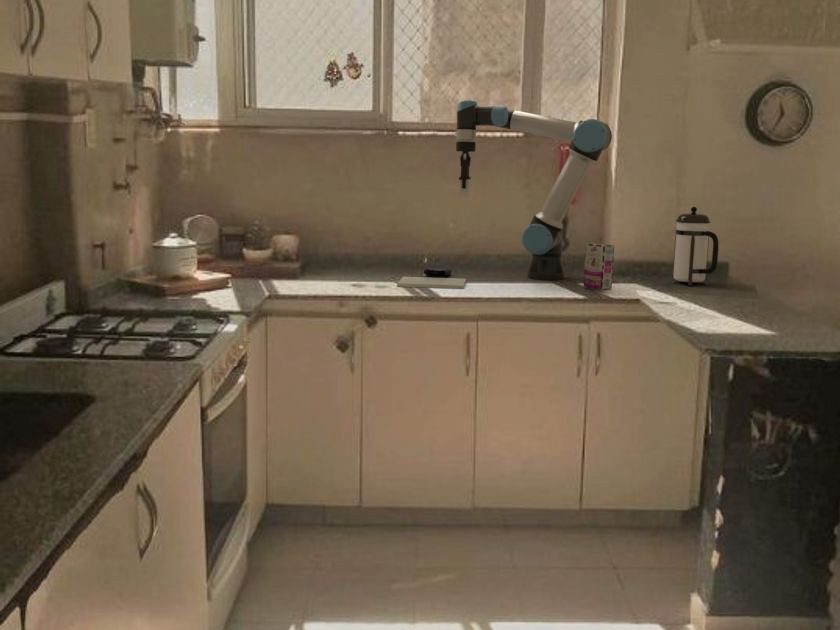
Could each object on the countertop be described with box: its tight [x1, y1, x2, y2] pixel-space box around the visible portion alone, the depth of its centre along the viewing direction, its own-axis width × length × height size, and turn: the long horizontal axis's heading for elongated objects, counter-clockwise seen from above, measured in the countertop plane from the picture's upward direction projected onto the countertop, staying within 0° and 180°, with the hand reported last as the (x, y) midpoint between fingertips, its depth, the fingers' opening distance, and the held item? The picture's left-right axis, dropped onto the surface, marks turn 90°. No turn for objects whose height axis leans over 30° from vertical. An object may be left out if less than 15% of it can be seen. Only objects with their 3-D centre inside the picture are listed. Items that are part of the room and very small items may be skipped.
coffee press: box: [668, 206, 719, 287], centre depth 353 cm, size 17×16×30 cm
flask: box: [423, 267, 453, 278], centre depth 362 cm, size 9×3×11 cm
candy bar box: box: [582, 242, 615, 291], centre depth 337 cm, size 11×5×16 cm, turn 27°
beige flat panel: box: [396, 276, 467, 290], centre depth 339 cm, size 24×20×1 cm
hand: (464, 196), depth 356 cm, fingers open, 13 cm apart
